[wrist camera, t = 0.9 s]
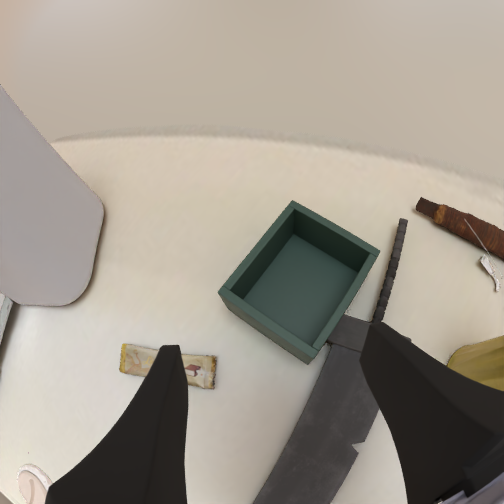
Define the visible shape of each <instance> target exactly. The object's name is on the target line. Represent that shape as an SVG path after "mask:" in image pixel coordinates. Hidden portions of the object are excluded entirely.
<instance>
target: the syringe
mask: <svg viewBox="0 0 504 504" xmlns="http://www.w3.org/2000/svg"><path fill="white" fill-rule="evenodd" d="M465 221H466V220H465ZM466 222H467V221H466ZM468 225H469V224H468ZM469 226H470V225H469ZM471 229H472V228H471ZM473 232H474V231H473ZM474 233H475V232H474ZM475 235H476V234H475ZM476 236H477V235H476ZM478 239H479V238H478ZM480 242H481V241H480ZM482 245H483V244H482ZM484 248H485V247H484ZM486 251H487V250H486ZM488 254H489V253H488ZM490 257H491V256H490ZM491 259H492V258H491ZM492 260H493V259H492ZM480 261H481V263H482V264H483V265H484V267H485V268H486V270H487V271H488V273H489V274H490V275H492V274H493V272H495V270H494V268H493V266H492V265H491V263H490V262H489V260H488V258H487V256H486V255H485V254H484V256H483V258H481V259H480ZM493 262H494V261H493ZM495 265H496V264H495ZM496 267H497V266H496ZM498 270H499V269H498ZM499 272H500V271H499ZM501 275H502V274H501ZM502 277H503V276H502ZM493 278H494V279H495V281H496V282H495V283H496V291H497V292H499V287H501V285H500V283H499V281H498V279H497V278H496V276H495V274H493Z"/></svg>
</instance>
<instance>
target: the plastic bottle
mask: <svg viewBox="0 0 504 504" xmlns="http://www.w3.org/2000/svg"><path fill="white" fill-rule="evenodd" d="M103 217H104V209H103V204H102V202H101V200H100V198H99V197H98V196H97V195H96V194H95V193H94V192H93V191H92V190H91V189H90V188H89V187H88V186H87V185H86V183H85V182H84V181H83V180H82V179H81V178H80V177H79V176H78V175H77V174H76V173H75V172H74V171H73V170H72V168H71V167H70V166H69V165H68V164H67V163H66V162H65V161H64V160H63V159H62V157H61V156H60V155H59V154H58V153H57V152H56V151H55V150H54V149H53V147H52V146H51V145H50V144H49V143H48V142H47V141H46V140H45V138H44V137H43V136H42V135H41V134H40V132H39V131H38V130H37V129H36V128H35V127H34V125H33V124H32V123H31V122H30V121H29V119H28V118H27V117H26V116H25V115H24V113H23V112H22V111H21V110H20V109H19V107H18V106H17V105H16V104H15V102H14V101H13V100H12V99H11V97H10V96H9V95H8V94H7V93H6V91H5V90H4V88H3V87H2V86H1V84H0V292H1V293H2V294H4V295H5V296H7V297H9V298H10V299H12V300H13V301H15V302H16V303H19V304H24V305H47V306H63V305H67V304H69V303H71V302H73V301H75V300H76V299H77V298H78V297H79V296H80V295H81V294H82V293H83V292H84V290H85V289H86V287H87V285H88V283H89V281H90V278H91V274H92V269H93V264H94V258H95V253H96V248H97V244H98V239H99V235H100V230H101V226H102V222H103Z"/></svg>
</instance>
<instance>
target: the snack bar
mask: <svg viewBox="0 0 504 504" xmlns="http://www.w3.org/2000/svg"><path fill="white" fill-rule="evenodd" d="M121 349H122V350H121V359H120V360H121V362H120V368H119V370H120V372H123V373H126V374H131V375H137V376H145V377H146V375H147V374H148V372H149V370H150V368H151V366H152V364H153V362H154V360H155V358H156V356H157V354H158V352H159V350H153V349H148V348H142V347H138V346H133V345H129V344H122V348H121ZM181 355H182V360H183V364H184V368H185V372H186V376H187V380H188V385H192V386H197V387H202V388H203V389H212V388H211V387H212V386H213V389H214V384H215V383H214V381H212V378H215V376H214V377H213V375H216V374H213V373H214V372H215V365H216V360H215V359H216V356H192V355H183V354H181ZM214 364H215V365H214ZM205 387H206V388H205Z"/></svg>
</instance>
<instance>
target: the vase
mask: <svg viewBox="0 0 504 504" xmlns="http://www.w3.org/2000/svg"><path fill="white" fill-rule="evenodd" d="M447 367H449V368H450V369H452V370H454V371H456V372H458V373H460V374H462V375H464V376H465V377H468V378H470V379H472V380H474V381H477V382H479V383H481V384H484V385H486V386H489V387H492V388H495V389H498V390H502V391H504V335H503V336H500V337H497V338H493V339H490V340H487V341H484V342H480V343H477V344H474V345H467V346H464V347H461V348H460V349H458V350H457V351H456V352H455V353H454V354H453V356H452V357H451V359H450V361H449V363H448V365H447Z"/></svg>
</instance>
